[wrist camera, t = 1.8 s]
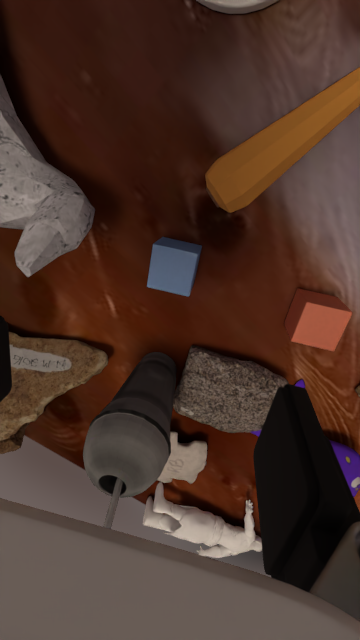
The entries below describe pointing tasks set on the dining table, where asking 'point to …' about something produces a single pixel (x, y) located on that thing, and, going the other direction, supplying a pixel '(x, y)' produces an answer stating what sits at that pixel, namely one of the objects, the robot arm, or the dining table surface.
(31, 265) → the statue
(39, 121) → the dining table surface
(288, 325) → the red block
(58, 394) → the rock
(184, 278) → the blue block
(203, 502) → the dining table surface
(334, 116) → the carrot
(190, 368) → the stone
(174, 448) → the decorative object
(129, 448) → the beverage cup
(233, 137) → the dining table surface
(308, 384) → the dining table surface
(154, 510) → the figurine
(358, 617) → the robot arm
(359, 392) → the toy sofa
